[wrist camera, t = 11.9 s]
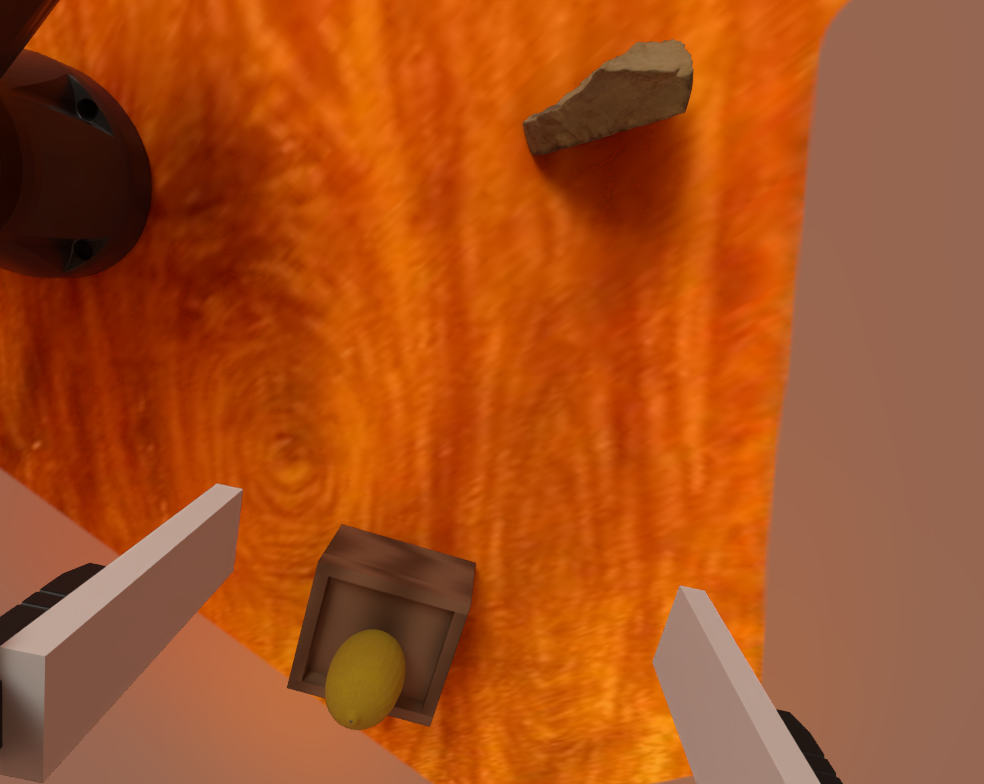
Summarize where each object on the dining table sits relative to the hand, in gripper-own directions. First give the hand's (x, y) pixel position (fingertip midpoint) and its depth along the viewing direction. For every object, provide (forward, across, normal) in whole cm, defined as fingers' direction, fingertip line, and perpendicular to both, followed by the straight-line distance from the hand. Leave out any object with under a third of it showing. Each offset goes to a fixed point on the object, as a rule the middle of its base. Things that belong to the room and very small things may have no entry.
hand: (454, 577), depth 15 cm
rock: (+27, +3, +21) cm, 34 cm away
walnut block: (+27, -4, -22) cm, 35 cm away
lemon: (+22, -4, -22) cm, 32 cm away
